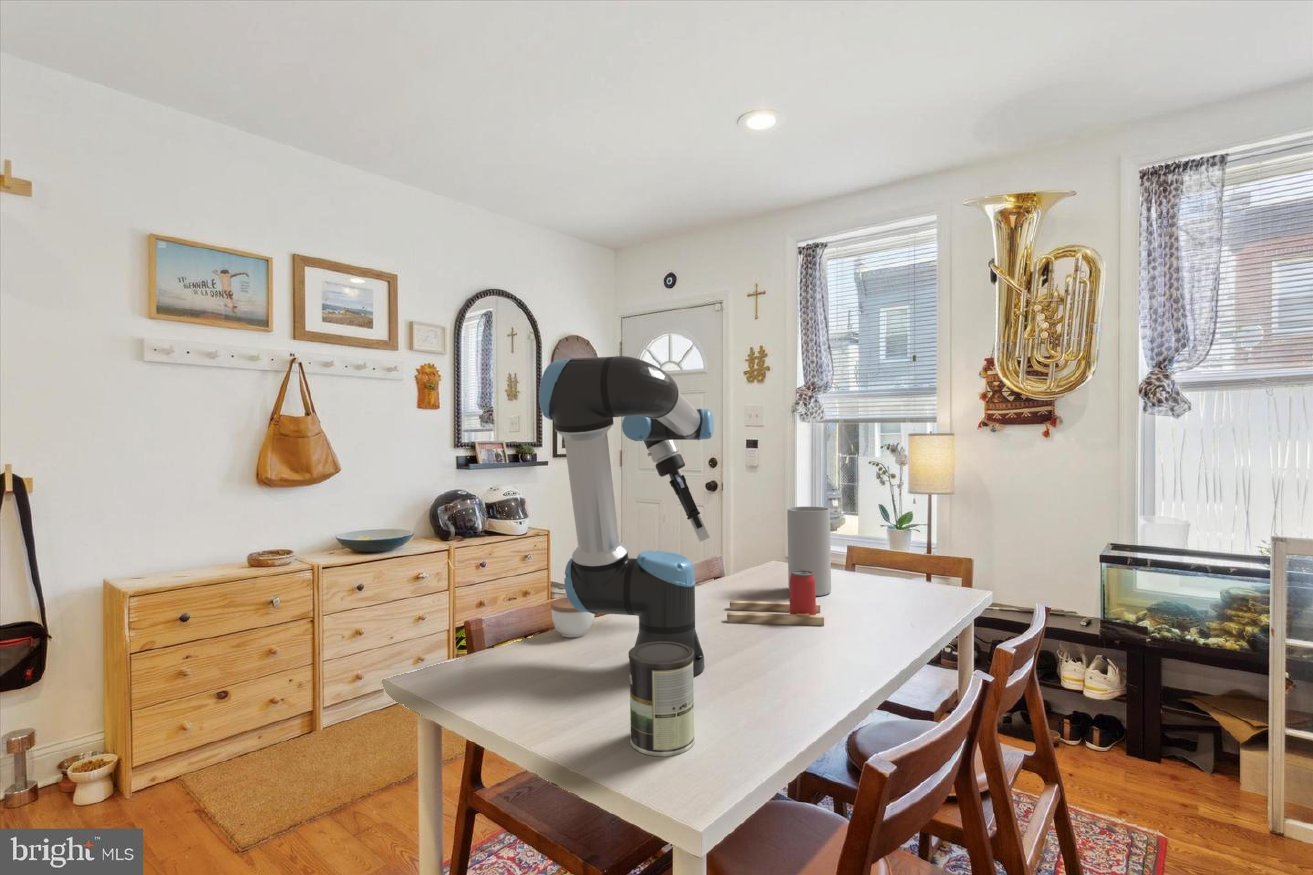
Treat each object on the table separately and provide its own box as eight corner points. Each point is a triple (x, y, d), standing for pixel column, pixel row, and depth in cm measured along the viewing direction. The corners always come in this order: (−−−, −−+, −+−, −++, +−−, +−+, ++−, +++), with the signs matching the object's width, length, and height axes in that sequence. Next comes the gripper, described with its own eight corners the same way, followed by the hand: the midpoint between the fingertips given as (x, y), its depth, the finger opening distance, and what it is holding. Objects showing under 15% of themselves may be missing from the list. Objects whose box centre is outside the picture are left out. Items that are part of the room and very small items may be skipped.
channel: (727, 622, 163) (726, 612, 163) (730, 607, 176) (730, 599, 176) (824, 625, 158) (823, 615, 158) (819, 610, 172) (819, 601, 172)
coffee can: (620, 752, 97) (619, 659, 97) (641, 722, 107) (640, 638, 107) (686, 761, 94) (684, 665, 94) (701, 729, 104) (700, 643, 104)
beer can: (821, 619, 163) (820, 573, 163) (802, 624, 160) (801, 576, 160) (803, 613, 169) (802, 568, 169) (784, 617, 166) (783, 571, 166)
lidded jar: (574, 643, 148) (573, 603, 148) (542, 635, 154) (541, 596, 154) (604, 631, 157) (604, 593, 156) (573, 624, 163) (573, 587, 163)
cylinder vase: (815, 599, 184) (813, 512, 184) (780, 591, 193) (778, 509, 193) (839, 591, 192) (838, 508, 192) (804, 584, 201) (803, 505, 201)
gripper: (653, 466, 176) (689, 544, 174) (655, 461, 163) (694, 546, 161) (677, 455, 177) (714, 533, 175) (681, 449, 164) (721, 533, 162)
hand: (704, 539), depth 168 cm, fingers closed
